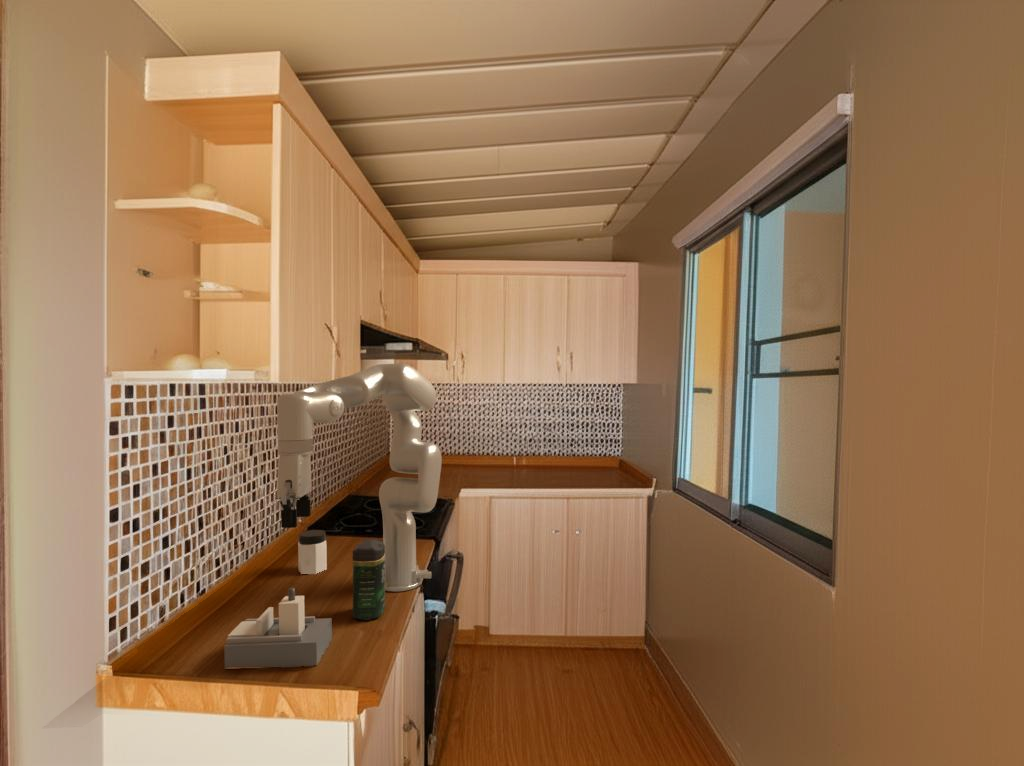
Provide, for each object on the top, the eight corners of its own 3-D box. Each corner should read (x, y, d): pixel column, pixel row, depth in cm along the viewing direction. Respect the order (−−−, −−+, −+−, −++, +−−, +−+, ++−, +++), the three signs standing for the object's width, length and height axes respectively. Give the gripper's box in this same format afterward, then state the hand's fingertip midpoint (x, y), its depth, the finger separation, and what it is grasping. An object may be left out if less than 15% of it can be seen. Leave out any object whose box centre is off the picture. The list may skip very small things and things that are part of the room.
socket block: (331, 639, 129) (331, 613, 129) (316, 665, 117) (316, 637, 117) (248, 642, 127) (248, 617, 127) (224, 669, 115) (224, 641, 115)
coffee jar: (381, 620, 138) (380, 547, 138) (349, 622, 138) (348, 548, 138) (388, 605, 148) (387, 536, 148) (358, 606, 148) (357, 537, 147)
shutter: (273, 623, 125) (273, 607, 125) (261, 637, 118) (261, 620, 118) (242, 624, 125) (241, 608, 125) (227, 639, 118) (227, 621, 118)
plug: (305, 648, 124) (304, 585, 124) (299, 657, 120) (298, 592, 120) (286, 649, 124) (285, 585, 124) (279, 658, 120) (278, 592, 120)
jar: (294, 575, 172) (293, 537, 172) (302, 566, 180) (302, 530, 180) (323, 574, 172) (322, 536, 172) (330, 565, 181) (329, 529, 181)
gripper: (291, 443, 134) (292, 513, 134) (264, 452, 117) (265, 532, 117) (323, 442, 135) (324, 512, 135) (300, 451, 118) (301, 531, 118)
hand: (296, 521), depth 126 cm, fingers open, 9 cm apart
